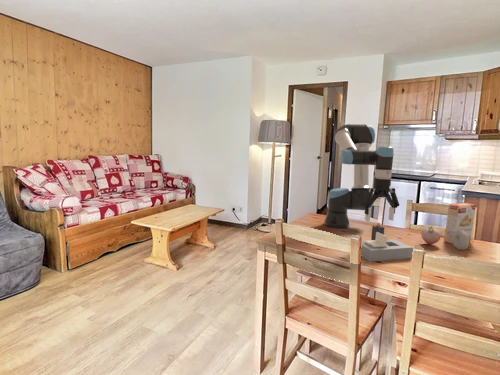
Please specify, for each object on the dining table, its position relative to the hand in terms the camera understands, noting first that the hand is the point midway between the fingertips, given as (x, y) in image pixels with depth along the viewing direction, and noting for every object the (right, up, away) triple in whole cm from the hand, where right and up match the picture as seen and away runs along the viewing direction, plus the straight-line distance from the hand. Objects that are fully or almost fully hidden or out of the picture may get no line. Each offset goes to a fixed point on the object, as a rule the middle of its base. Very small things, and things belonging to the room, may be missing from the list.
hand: (379, 220), depth 150 cm
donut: (+40, -15, -1) cm, 42 cm away
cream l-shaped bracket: (-7, -10, -13) cm, 17 cm away
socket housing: (-3, -15, -11) cm, 19 cm away
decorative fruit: (+29, -13, +6) cm, 32 cm away
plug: (0, -13, +2) cm, 13 cm away
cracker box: (+47, -13, +11) cm, 50 cm away
